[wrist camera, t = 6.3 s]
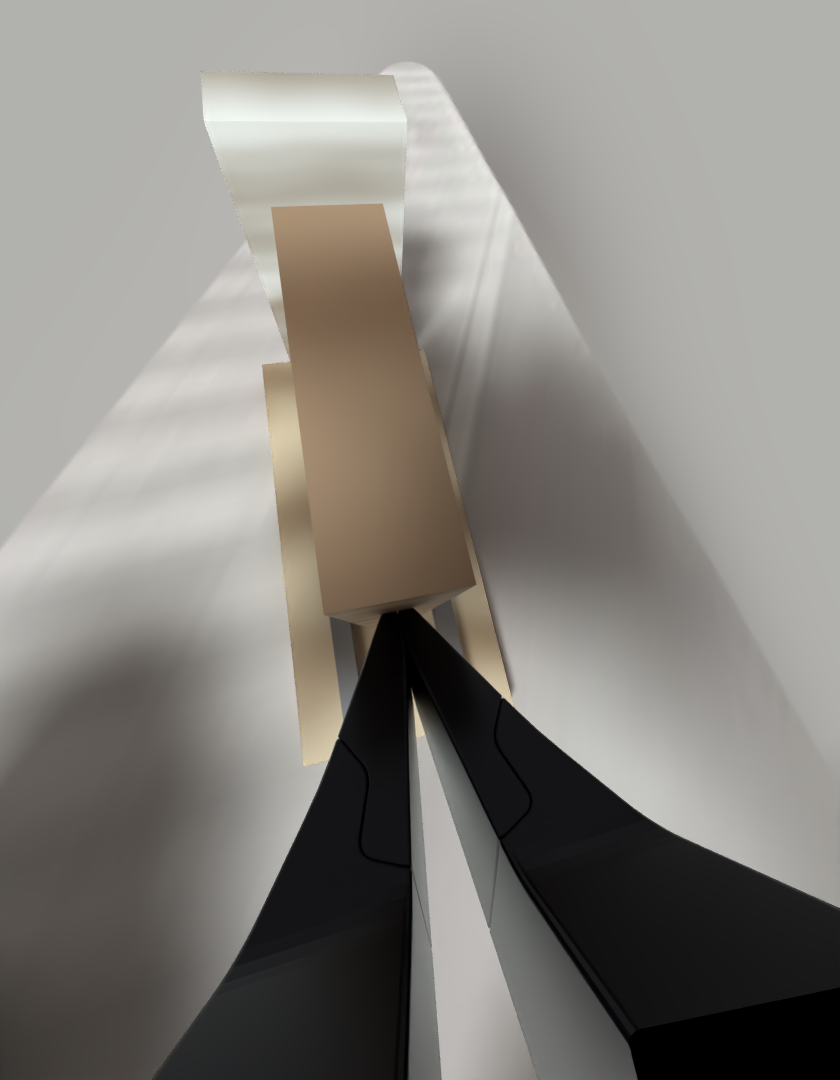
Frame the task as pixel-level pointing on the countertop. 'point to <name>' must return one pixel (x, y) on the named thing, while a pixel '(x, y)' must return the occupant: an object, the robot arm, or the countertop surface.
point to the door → (365, 419)
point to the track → (255, 186)
